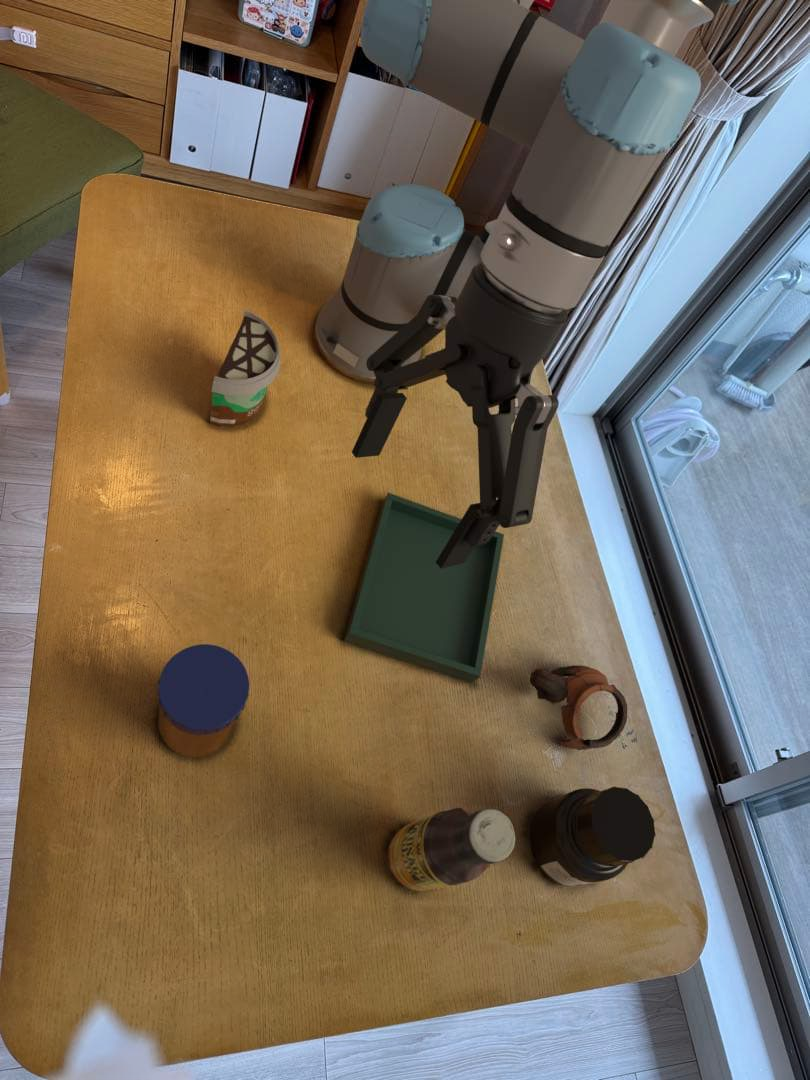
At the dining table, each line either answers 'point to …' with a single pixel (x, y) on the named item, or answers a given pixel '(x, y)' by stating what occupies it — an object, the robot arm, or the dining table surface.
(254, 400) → the food container
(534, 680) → the pottery mug
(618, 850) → the ink bottle
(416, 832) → the sauce bottle
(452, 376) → the robot arm
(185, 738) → the jar
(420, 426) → the dining table surface
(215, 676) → the lid
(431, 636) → the tray
